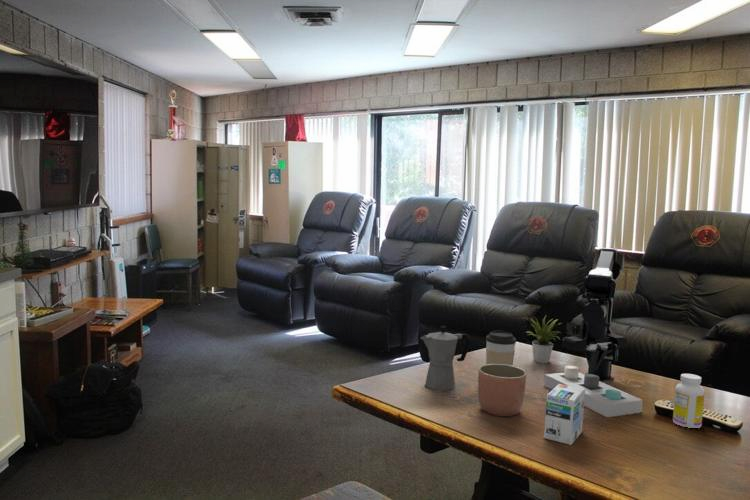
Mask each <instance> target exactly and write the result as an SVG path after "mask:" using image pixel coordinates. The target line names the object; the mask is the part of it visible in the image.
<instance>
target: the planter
mask: <svg viewBox="0 0 750 500" xmlns="http://www.w3.org/2000/svg"><path fill="white" fill-rule="evenodd" d="M477 374H478V375H477V377H478V378H477V379H478V380H477V381H478V383H477V394H478V395H477V398H478V404H479V406H480V408H481V409H482V411H484V412H486V413H488V414H491V415H493V416H499V417H511V416H514V415H515V416H516V415H518V413H520V412H521V410H522V408H523V405H524V399H525V395H526V394H525V393H526V383H527V376H528V375H527V371H526V370H524V369H523V368H521V367H518V366H515V365H513V366H511V365H504V364H487V365H486V364H484V365H480V366H479V367H478V373H477Z"/></svg>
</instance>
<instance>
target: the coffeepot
mask: <svg viewBox="0 0 750 500" xmlns="http://www.w3.org/2000/svg"><path fill="white" fill-rule="evenodd" d="M446 328H447V326H445V325H442V326H440V331H437V332H431V333H430V332H429V333H428V334H425V335H422V336H420V339H421V340H422V341H423V342H424V344H425V346H426V348H427V350H428V358H429V365H428V370H427V373H426V380H425V384H424V386H425V387H426V386H427V387H426V388H428V387H429V388H428V389H430V388H431V389H430V390H433V389H434V391H438V390H441V392H444V391H445V392H447V390H448V391H452V390H454V389H455V388H456V379H455V371H454V370H455V369H454V364H453V363H454V362H453V361H454V359H455V353H456V349H457V345H458V344H457V343H458V342H460V341H464V344H463V348H462V351H461V356H460V357H457V358H456V360H457V362H463V361H464V360H465V359H466V356H467V354H468V351H469V348H470V346H471V343H472V338H470V336H469V335H468V334H467V333H455V334H453V333H451V332H450V333H449V332H446Z"/></svg>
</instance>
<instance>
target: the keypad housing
mask: <svg viewBox="0 0 750 500" xmlns="http://www.w3.org/2000/svg"><path fill="white" fill-rule="evenodd" d="M584 376H585V373H582V372H579V374H578V380H572V381H570V380H567V379H565V378H564V372H558V373H557V372H556V373H546V374H544V383H543V386H544V387H546V388H548V389H550V390H551V391H552V390H553V389H554V388H555V387H556V386H557V385H558V384H562V385H566V386H570V387H575V388H580V389H584V390H585V398H584V408H585V407H586V408H588V409H590V410H592V411H594V412H596V413H598V414H599V415H601V416H604V417H605V418H613V417H619V416H626V415H627V414H628V415H632V414H633V415H634V413H635V414H641V413H640V412H642V411H643V404H644V403H643V401H644V400H643V399H641V398H639V397H637V396H635V395H633V394H629V393H627V392H625V391H623V390H621V389H618V388H616V387H614V386H611V385H609V384H606V383H605V382H602V381H599V389H596V390H589V389H587V388H585V387H584ZM608 389H612V390H617V391H620V392H621V400H611V399H608V398H606V397H605V392H606V390H608Z"/></svg>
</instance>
